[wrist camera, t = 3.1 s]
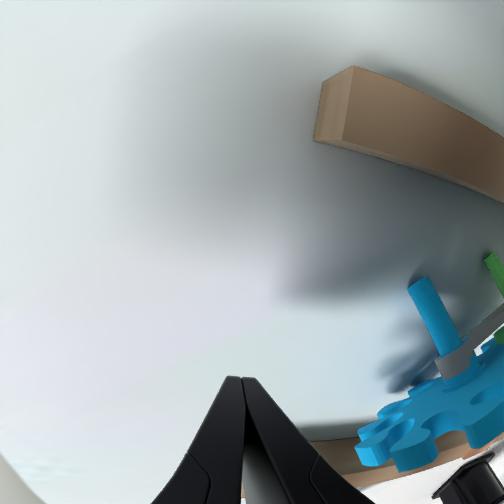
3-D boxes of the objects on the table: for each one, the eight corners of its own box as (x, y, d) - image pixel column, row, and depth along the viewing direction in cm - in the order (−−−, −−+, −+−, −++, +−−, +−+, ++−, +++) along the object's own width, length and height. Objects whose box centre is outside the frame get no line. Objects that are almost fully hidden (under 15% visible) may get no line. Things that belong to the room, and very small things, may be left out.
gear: (341, 455, 13) (434, 526, 4) (296, 355, 15) (333, 297, 6) (494, 351, 14) (617, 297, 5) (454, 270, 16) (554, 171, 7)
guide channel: (590, 221, 12) (614, 232, 9) (504, 414, 18) (519, 432, 15) (323, 80, 9) (358, 61, 6) (237, 461, 14) (241, 503, 12)
